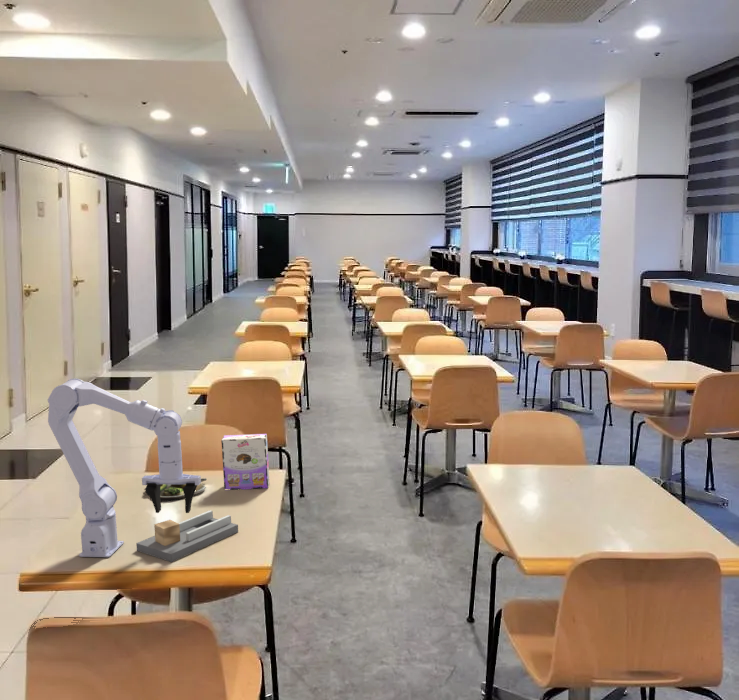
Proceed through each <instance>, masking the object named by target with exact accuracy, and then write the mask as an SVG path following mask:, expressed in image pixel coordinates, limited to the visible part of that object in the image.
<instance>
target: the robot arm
mask: <svg viewBox="0 0 739 700" xmlns="http://www.w3.org/2000/svg"><path fill="white" fill-rule="evenodd" d="M47 402H48V417H47V423H48V425H49V427H50V430H51V431H52V434H53V436H54V438H55V439H56V441H57V444H58V446H59V448H60V450H61V452H62V453H63V456H64V457H65V460H66V463H67V464H68V465H69V466H68V467H70V470H71V471H72V474H73V476H74V478H75V480H76V481H77V484H78V485H79V491H78V492H79V493H78V496H79V497H78V498H79V500H80V501H81V502H80V503H81V511H82V514H83V515H84V516H85V524H84V526H83V528H82V529H81V532H80V539H81V550H82V551H81V552H80V553H79V554H78V556H79V557H80V558H83V557H84V558H110V557H112V555H114V553H115V552H116V551H117V550H118V549H119V548H121V546H122V545H123V544H124V543H125V541H124V540H118V529H117V528H118V527H117V516H116V515H117V513H116V512H117V511H116V510H115V507H114V505H115V504H116V503H117V500H118V494H117V491H116V490H115V488H114V487H112V486H111V485H110V484H109V482H108V481H107V479H106V478H105V477H104V476H102V475H100V473H99V471H98V469H97V468H96V465H95V463H94V461H93V460H92V458H91V456H90V453H89V451H88V450H87V447H86V444H85V443H84V441H83V439H82V436H81V435H80V433H79V430H78V429H77V427H76V425H75V423H74V421H73V419H74V417H75V415H76V412H77V410H78V408H79V407H85V406H89V405H97V406H100V407H103V408H106V409H109V410H111V411H114V412H118V413H120V414H122V415H124V416H125V418H126V419H127V421H128V422H130V423H132V424H135V425H137V426H140V427H142V428H144V429H147V430H150V431H154V433H155V435H156V436H157V454H158V455H157V456H158V472H159V473H158V474H152V475H151V474H150V475H144V476H142V477H141V485H142V486H146V487H145V490H146V491H145V490H144V491H145V492H146V494H147V493H148V494H147V495H148V496H149V498H150V500H151V502H152V504H153V505H152V506H153V507H154V511H155V514H159V513H160V512H161V511H162V501H161V500H160V487H161V484H186V486H185V487H184V488H183V491H184V494H183V495H184V497H185V498H184V508H185V509H184V512H185V513H186V514H189V513H190V512H191V510H192V503H193V499H194V496H195V495H194V492H195V490H196V487H197V485H199V484H200V483H201V484H202V482H201V479H202V478H201V477H202V476H201V475H197V474H196V475H195V474H187V473H183V457H182V456H183V455H182V454H183V453H182V441H181V431H180V429H181V428H182V423H183V420H182V417H181V415H180V414H179V413H178V412H176V411H175V410H173V409H168V410H166V408H163V407H161V408H159V407H156V406H154V405H151V404H149V403H148V400H145V399H144V398H143V399H142V400H139V399H136V400H134V401H129V400H127V399H124V398H123V397H121V396H118V395H116V394H115V393H112V392H109V391H107V390H105V389H103V388H101V387H99V386H97V385H96V384H93V383H92V382H89V381H84V380H82V379H80V378H77V377H76V378H70V379H68V380H67V381H65V382H64V383H62V384H60V385H58V386H56V387H54V388H53V389H52V391H51V393H50V395H49V396H48V398H47Z"/></svg>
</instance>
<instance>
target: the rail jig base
mask: <svg viewBox="0 0 739 700" xmlns="http://www.w3.org/2000/svg"><path fill="white" fill-rule="evenodd" d="M213 511H214V510H210V509H209V510H207V511H205V512H202V513H200V514H197V515H195V516H193V517H190V518H187V519H185V520H182V521H180V522H177V523H178V524H179V527H180V541H178V542H175V543H172V544H169V545H166V546H164V545H162V544H160V543H158V542H156V541H155V535H152V536H150V537H148V538H146V539H143V540H140V541H138V542H136V545H135V546H136V551H137V552H140V553H143V554H146V555H149V556H152V557H155V558H158V559H160V560H165V561H167V562H170V563H172V562H175V561H177V560H179V559H181V558H183V557H186V556H187V555H190V554H192V553H194V552H196V550H197V551H199V550H202V549H203V547H204V548H205V546H206V547H208V546H210V545H212V544H214V542H215V543H216V541H217V542H219V541H221V540H223V539H226V538H228V537H230V536H232V535H235V534H237V533H238V532H239V524H236V523H234V522H232V515H229V514H227V515H226V516H221V517H220V518H214V514H213ZM209 544H210V545H209ZM207 545H208V546H207ZM198 549H199V550H198Z"/></svg>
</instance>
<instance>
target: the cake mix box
mask: <svg viewBox="0 0 739 700" xmlns="http://www.w3.org/2000/svg"><path fill="white" fill-rule="evenodd" d="M220 442H221V452H222V453H221V456H222V470H223V490H224V489H230V490H229V491H235V490H236V491H240V489H242V490H259V489H261V490H265V489H269V486H270V468H269V467H270V466H269V462H270V461H269V451H268V450H269V449H268V448H269V447H268V446H269V445H268V435H267V433H252V434H227V435H226V434H223V437H222V439H221V441H220ZM238 489H239V490H238Z"/></svg>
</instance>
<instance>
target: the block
mask: <svg viewBox="0 0 739 700" xmlns="http://www.w3.org/2000/svg"><path fill="white" fill-rule="evenodd" d="M178 523H179V522H176V521H174V520H171V519H167V520H164V521H160V522H158V523H155V524H153V525H154V536H155V541H156V542H158V543H160V544H162V545H164V546H166V545H169V544H172V543H175V542H178V541H180V527H179V524H178Z"/></svg>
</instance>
